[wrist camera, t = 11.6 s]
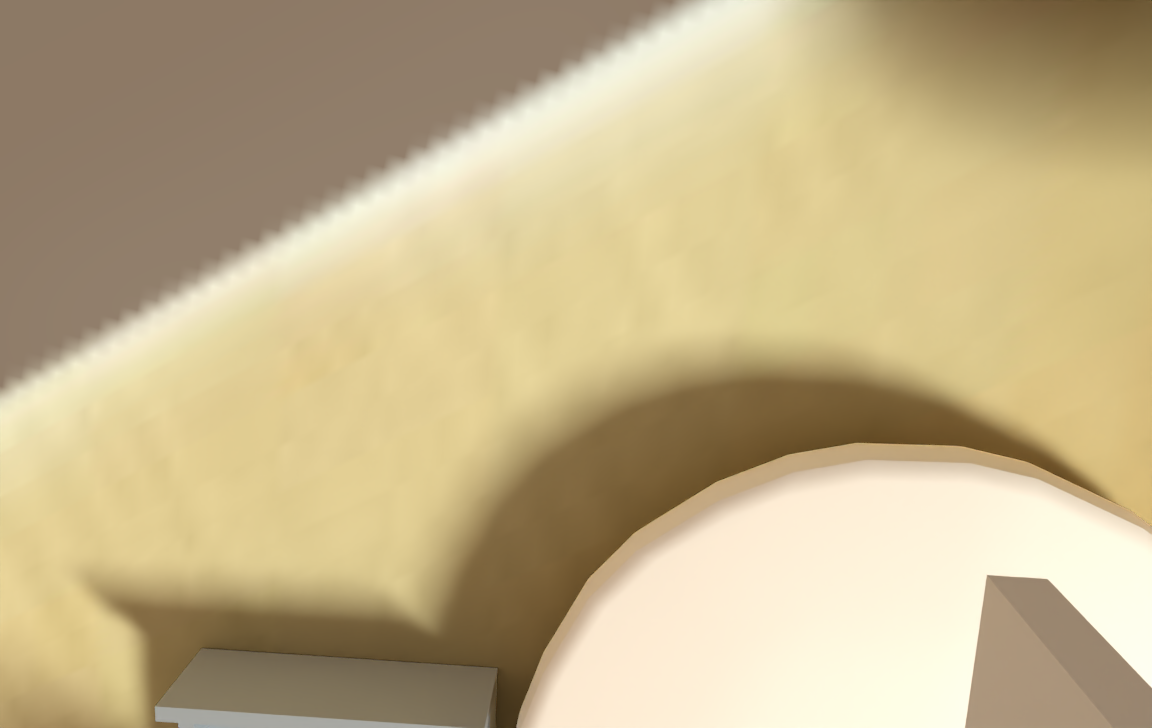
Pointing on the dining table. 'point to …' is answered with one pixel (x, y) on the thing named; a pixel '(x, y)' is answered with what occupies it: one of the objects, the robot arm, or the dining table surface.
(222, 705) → the divided organizer tray
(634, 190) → the dining table surface
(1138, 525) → the plate
